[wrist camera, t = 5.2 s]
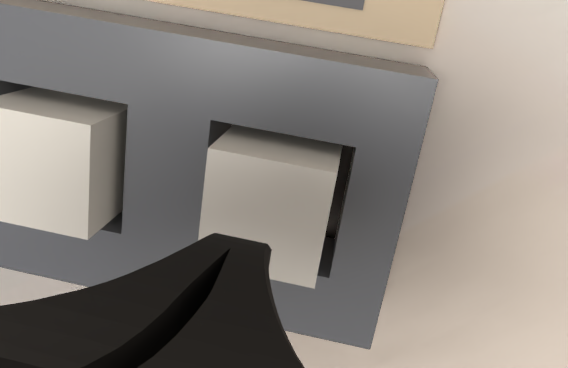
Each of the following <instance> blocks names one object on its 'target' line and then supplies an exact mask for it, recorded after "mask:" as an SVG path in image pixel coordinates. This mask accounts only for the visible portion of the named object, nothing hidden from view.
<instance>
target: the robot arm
mask: <svg viewBox="0 0 568 368" xmlns="http://www.w3.org/2000/svg"><path fill="white" fill-rule="evenodd" d="M271 251H272V249H271V248H270V246H269V245H268V244H266V243H262V242H257V241H252V240H247V239H243V238H238V237H233V236H228V235H223V234H219V233H213V234H210V235H208V236H206V237H204V238H202V239H200V240H198V241H197V242H195V243H193V244H191V245H189V246H187V247H185V248H183V249H181V250H179V251H177V252H175V253H173V254H171V255H169V256H167V257H165V258H163V259H161V260H159V261H157V262H154V263H152V264H150V265H147V266H145V267H143V268H140V269H138V270H136V271H133V272H131V273H129V274H126V275H124V276H121V277H118V278H116V279H113V280H110V281H107V282H104V283H101V284H97V285H94V286H91V287H88V288H84V289H81V290H77V291H73V292H69V293H64V294H60V295H55V296H51V297H47V298H42V299H38V300H33V301H28V302H22V303H16V304H10V305H3V306H0V368H304V366H303V365H302V363H301V362H300V360H299V358H298V357H297V355H296V353H295V351H294V349H293V348H292V346H291V344H290V342H289V340H288V337H287V335H286V333H285V331H284V328H283V326H282V323H281V321H280V318H279V315H278V312H277V309H276V305H275V302H274V298H273V294H272V289H271V283H270V278H269V263H270V257H271Z"/></svg>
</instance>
